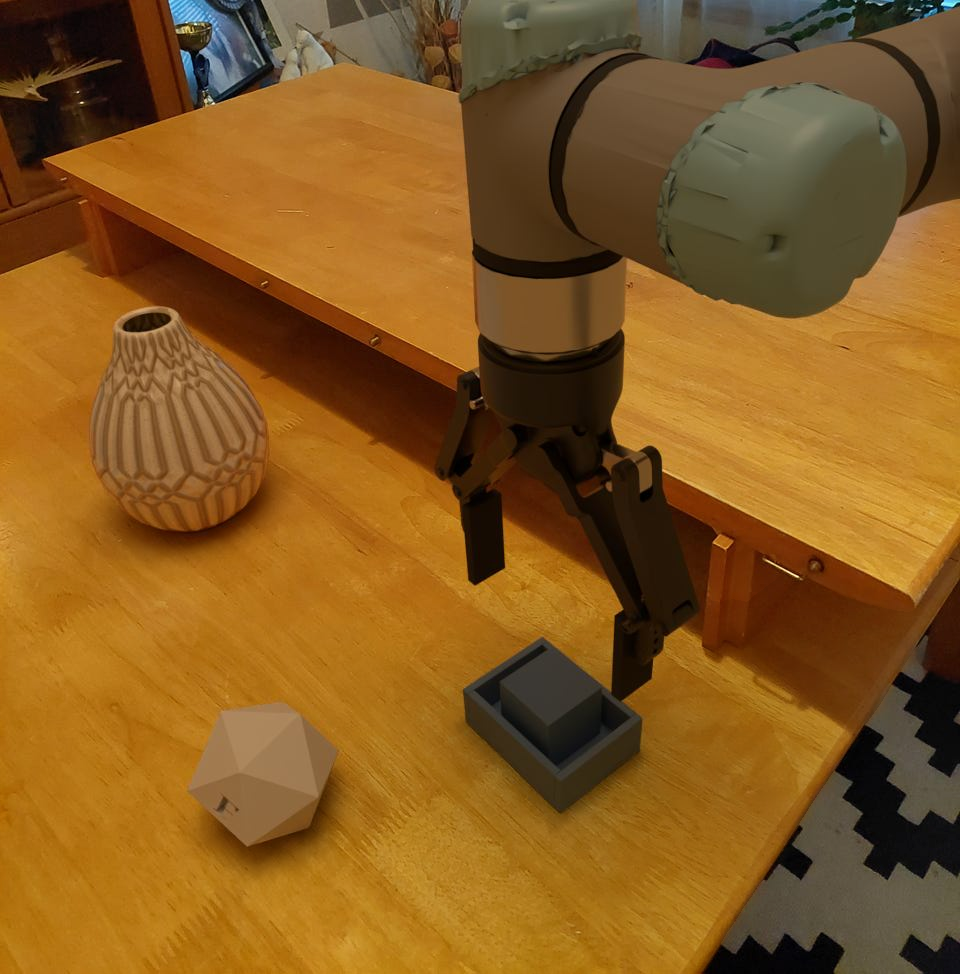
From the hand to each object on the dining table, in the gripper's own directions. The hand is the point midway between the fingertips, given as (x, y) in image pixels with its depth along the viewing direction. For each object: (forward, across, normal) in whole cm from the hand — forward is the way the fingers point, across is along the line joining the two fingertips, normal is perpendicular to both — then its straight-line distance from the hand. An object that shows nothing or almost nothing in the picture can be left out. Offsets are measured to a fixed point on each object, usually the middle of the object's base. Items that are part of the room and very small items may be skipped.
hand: (553, 626), depth 60 cm
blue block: (+11, 0, 0) cm, 11 cm away
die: (+12, +8, +18) cm, 23 cm away
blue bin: (+11, 0, 0) cm, 11 cm away
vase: (+11, +44, +7) cm, 45 cm away
